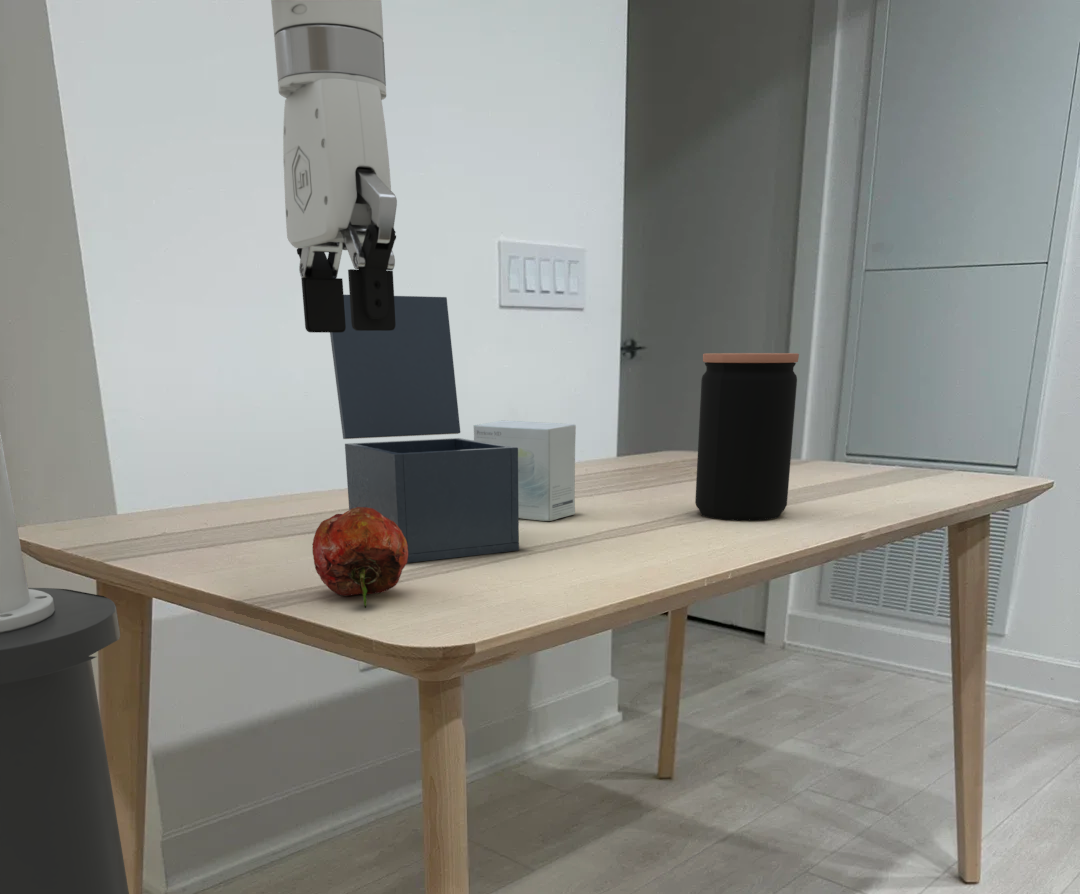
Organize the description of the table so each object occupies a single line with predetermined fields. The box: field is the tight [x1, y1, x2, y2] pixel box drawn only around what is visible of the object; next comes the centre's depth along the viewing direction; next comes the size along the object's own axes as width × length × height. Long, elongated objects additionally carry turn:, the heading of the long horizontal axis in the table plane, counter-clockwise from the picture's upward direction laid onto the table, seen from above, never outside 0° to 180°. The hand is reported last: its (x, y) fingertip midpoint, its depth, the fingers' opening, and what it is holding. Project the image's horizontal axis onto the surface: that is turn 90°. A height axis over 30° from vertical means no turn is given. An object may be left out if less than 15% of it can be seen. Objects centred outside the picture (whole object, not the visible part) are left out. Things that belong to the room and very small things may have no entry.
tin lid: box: [329, 294, 461, 440], centre depth 101 cm, size 13×13×1 cm
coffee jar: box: [694, 352, 800, 522], centre depth 117 cm, size 11×11×18 cm
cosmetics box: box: [473, 420, 577, 522], centre depth 119 cm, size 10×6×10 cm, turn 58°
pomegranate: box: [311, 507, 408, 609], centre depth 80 cm, size 7×7×10 cm
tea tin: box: [344, 437, 520, 564], centre depth 100 cm, size 13×13×10 cm
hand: (348, 331), depth 77 cm, fingers open, 9 cm apart
